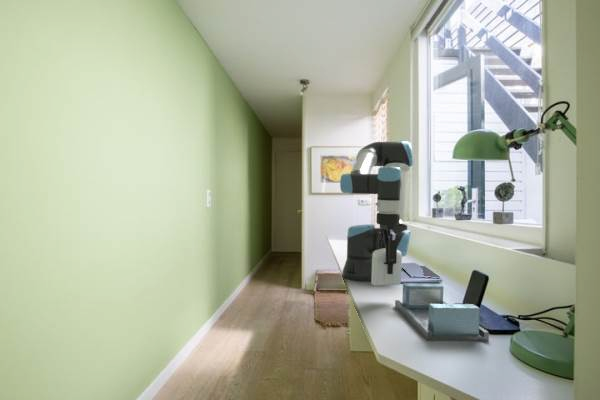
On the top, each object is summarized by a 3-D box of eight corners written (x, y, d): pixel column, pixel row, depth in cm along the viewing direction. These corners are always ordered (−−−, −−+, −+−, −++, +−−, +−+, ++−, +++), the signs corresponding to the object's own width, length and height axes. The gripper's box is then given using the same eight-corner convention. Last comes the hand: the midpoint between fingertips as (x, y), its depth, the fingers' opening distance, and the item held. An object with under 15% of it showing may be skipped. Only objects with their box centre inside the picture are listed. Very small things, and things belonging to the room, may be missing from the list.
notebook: (439, 280, 143) (424, 269, 164) (440, 276, 143) (424, 265, 164) (410, 278, 144) (399, 267, 165) (411, 275, 144) (399, 264, 165)
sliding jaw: (402, 304, 104) (402, 283, 104) (438, 305, 105) (439, 283, 105) (405, 308, 101) (406, 286, 101) (442, 308, 102) (443, 286, 101)
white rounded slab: (396, 281, 113) (397, 246, 112) (402, 285, 109) (404, 249, 108) (369, 283, 111) (370, 247, 110) (374, 286, 106) (375, 250, 106)
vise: (395, 306, 105) (395, 282, 105) (442, 307, 106) (443, 283, 106) (427, 340, 81) (428, 309, 81) (488, 340, 82) (489, 309, 82)
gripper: (370, 210, 117) (368, 273, 118) (385, 215, 99) (383, 288, 100) (390, 210, 117) (388, 273, 119) (409, 215, 100) (406, 288, 101)
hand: (386, 280), depth 110 cm, fingers closed on white rounded slab, 5 cm apart
